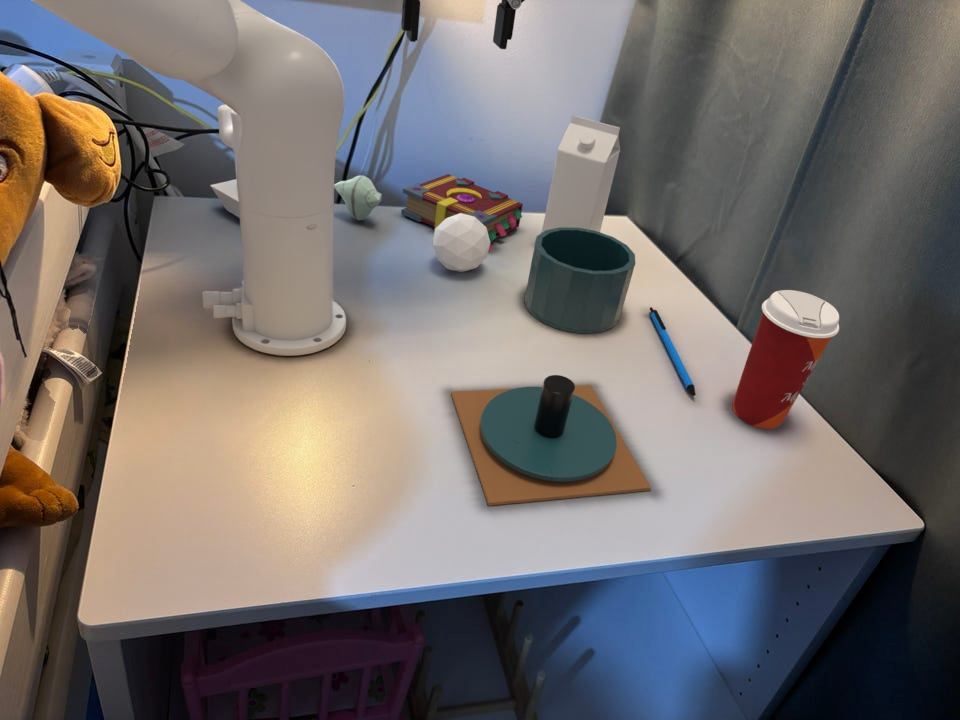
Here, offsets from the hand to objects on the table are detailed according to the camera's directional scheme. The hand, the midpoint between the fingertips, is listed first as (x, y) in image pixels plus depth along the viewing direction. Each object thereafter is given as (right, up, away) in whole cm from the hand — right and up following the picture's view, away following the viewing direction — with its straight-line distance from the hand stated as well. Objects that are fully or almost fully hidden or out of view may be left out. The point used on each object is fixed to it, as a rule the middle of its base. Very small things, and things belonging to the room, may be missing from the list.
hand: (456, 42), depth 76 cm
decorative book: (0, -13, +35) cm, 38 cm away
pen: (+26, -33, +12) cm, 44 cm away
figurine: (-31, -12, +29) cm, 45 cm away
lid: (+9, -41, -5) cm, 42 cm away
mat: (+9, -42, -5) cm, 43 cm away
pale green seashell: (-16, -13, +32) cm, 38 cm away
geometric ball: (0, -21, +23) cm, 31 cm away
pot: (+15, -27, +18) cm, 36 cm away
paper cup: (+34, -40, +4) cm, 52 cm away
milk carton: (+16, -16, +34) cm, 41 cm away
